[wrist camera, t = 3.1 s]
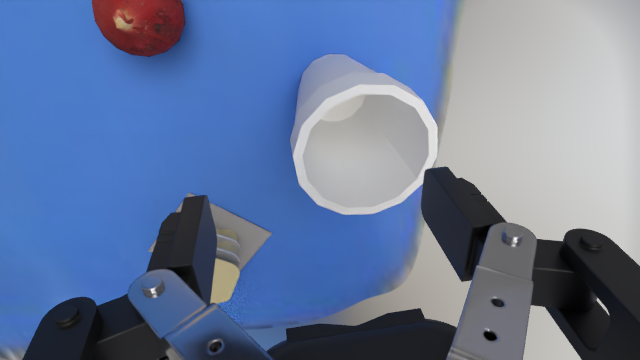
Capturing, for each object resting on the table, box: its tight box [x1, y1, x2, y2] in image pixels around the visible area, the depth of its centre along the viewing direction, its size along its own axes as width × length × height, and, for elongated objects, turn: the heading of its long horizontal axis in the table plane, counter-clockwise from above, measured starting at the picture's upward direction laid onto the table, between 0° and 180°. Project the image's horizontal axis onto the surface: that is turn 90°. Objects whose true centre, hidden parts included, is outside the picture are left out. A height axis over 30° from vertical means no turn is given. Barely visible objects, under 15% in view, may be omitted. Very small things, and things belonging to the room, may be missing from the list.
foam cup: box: [290, 54, 438, 215], centre depth 31 cm, size 10×9×13 cm
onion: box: [92, 0, 185, 57], centre depth 27 cm, size 6×6×8 cm
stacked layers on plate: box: [149, 193, 272, 304], centre depth 41 cm, size 10×9×6 cm
